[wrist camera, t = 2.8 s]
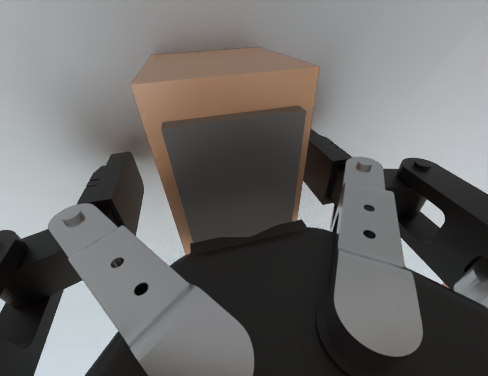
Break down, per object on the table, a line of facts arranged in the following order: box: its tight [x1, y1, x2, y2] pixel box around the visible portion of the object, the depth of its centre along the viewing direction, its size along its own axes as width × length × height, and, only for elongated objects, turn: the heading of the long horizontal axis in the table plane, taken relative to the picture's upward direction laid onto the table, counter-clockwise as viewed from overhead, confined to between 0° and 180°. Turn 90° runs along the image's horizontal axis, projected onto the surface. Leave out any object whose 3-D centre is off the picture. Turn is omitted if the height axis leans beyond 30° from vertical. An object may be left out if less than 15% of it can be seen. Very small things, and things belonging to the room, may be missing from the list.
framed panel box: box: [130, 47, 320, 255], centre depth 11 cm, size 5×9×6 cm, turn 2°
